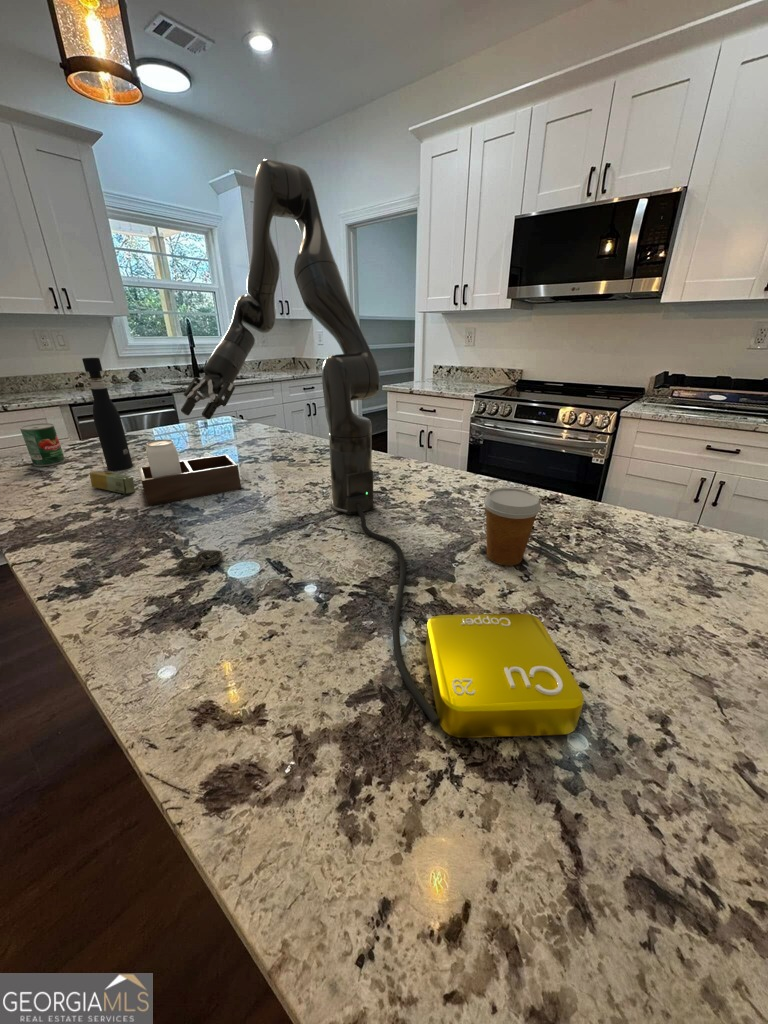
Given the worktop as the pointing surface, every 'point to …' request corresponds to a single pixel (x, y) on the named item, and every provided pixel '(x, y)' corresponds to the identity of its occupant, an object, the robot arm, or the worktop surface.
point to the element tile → (499, 677)
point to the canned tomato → (43, 444)
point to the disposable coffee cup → (509, 523)
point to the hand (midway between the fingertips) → (194, 415)
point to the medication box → (112, 482)
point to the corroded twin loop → (199, 561)
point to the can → (163, 458)
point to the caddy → (191, 480)
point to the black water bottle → (107, 420)
